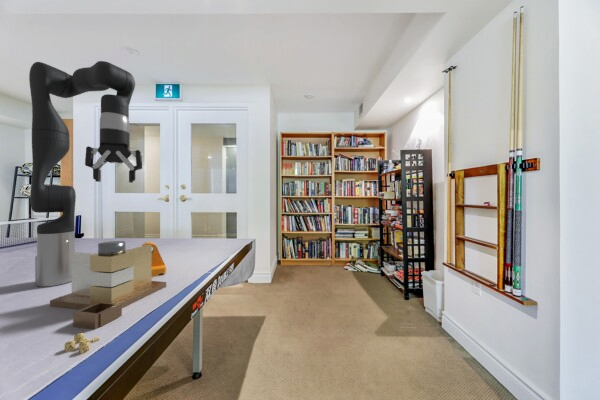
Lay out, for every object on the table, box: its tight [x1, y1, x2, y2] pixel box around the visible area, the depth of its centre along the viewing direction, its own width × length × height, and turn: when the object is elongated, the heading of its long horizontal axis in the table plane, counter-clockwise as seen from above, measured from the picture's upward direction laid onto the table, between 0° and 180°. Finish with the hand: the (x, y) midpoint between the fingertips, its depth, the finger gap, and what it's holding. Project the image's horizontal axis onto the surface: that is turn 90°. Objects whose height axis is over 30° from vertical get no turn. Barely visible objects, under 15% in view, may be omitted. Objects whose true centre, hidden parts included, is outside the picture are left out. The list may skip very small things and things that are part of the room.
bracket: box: [141, 241, 167, 278], centre depth 94 cm, size 11×7×12 cm, turn 125°
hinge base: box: [49, 245, 167, 330], centre depth 70 cm, size 24×26×14 cm
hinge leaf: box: [71, 251, 134, 294], centre depth 69 cm, size 17×7×11 cm, turn 79°
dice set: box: [64, 332, 101, 354], centre depth 49 cm, size 5×5×2 cm
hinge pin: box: [97, 240, 126, 256], centre depth 68 cm, size 6×6×14 cm
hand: (115, 182), depth 78 cm, fingers open, 8 cm apart
